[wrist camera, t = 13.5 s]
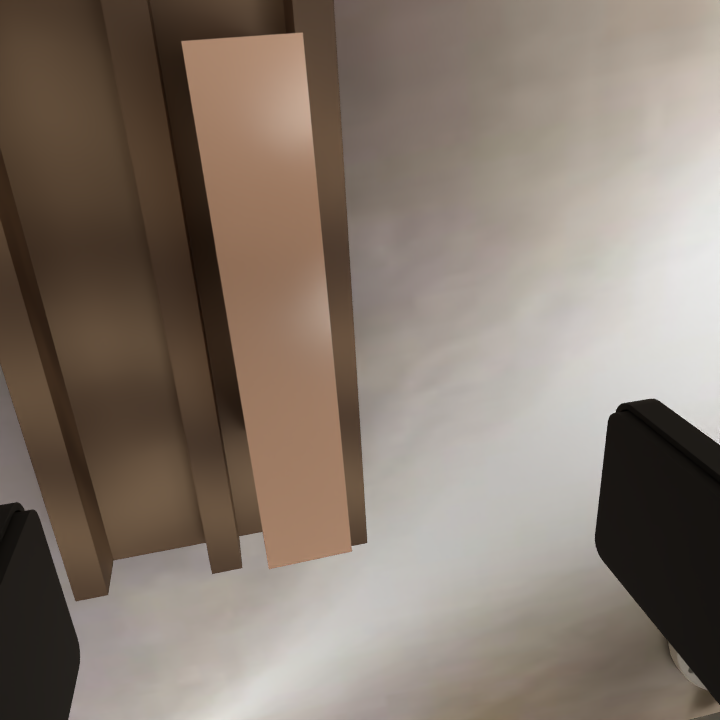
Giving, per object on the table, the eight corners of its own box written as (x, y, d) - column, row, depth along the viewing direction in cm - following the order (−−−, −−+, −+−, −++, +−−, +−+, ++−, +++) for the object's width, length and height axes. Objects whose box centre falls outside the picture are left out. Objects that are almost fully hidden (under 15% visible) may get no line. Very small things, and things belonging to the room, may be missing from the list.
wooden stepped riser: (357, 492, 31) (376, 541, 28) (78, 544, 28) (64, 603, 25) (315, -138, 21) (337, -173, 17) (-125, -135, 18) (-190, -175, 15)
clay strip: (309, 421, 27) (352, 551, 20) (248, 432, 26) (269, 569, 19) (265, 41, 21) (302, 32, 14) (184, 47, 20) (181, 41, 13)
